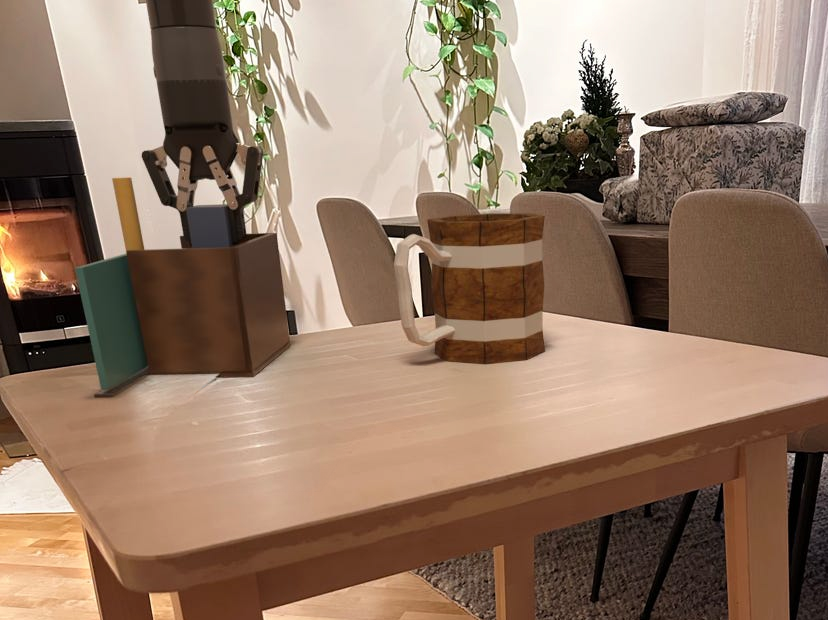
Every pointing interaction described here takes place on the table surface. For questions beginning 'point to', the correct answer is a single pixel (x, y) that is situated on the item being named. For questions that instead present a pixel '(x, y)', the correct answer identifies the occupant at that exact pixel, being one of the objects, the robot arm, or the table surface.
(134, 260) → the cubby
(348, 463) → the table surface
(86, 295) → the sliding door
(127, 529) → the table surface
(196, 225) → the block
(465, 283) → the mug
